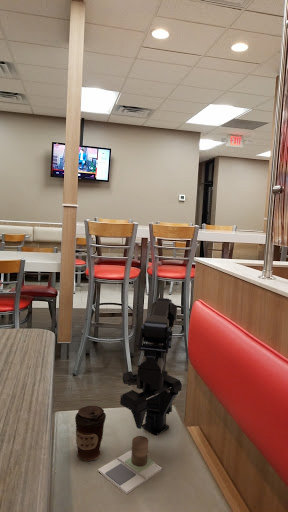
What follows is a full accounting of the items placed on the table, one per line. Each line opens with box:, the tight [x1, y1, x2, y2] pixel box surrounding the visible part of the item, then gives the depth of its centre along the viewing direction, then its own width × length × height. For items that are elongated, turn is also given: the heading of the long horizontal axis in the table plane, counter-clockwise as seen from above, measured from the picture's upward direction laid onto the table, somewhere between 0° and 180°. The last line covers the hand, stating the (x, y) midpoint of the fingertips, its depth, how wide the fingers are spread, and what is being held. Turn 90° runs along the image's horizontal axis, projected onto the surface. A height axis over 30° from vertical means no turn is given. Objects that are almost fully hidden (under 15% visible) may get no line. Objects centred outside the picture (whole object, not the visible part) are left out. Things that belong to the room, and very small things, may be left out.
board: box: [97, 449, 163, 495], centre depth 102 cm, size 13×11×1 cm
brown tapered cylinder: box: [131, 435, 150, 467], centre depth 104 cm, size 4×4×6 cm
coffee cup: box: [74, 405, 107, 462], centre depth 107 cm, size 9×8×13 cm
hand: (150, 421), depth 104 cm, fingers open, 9 cm apart
